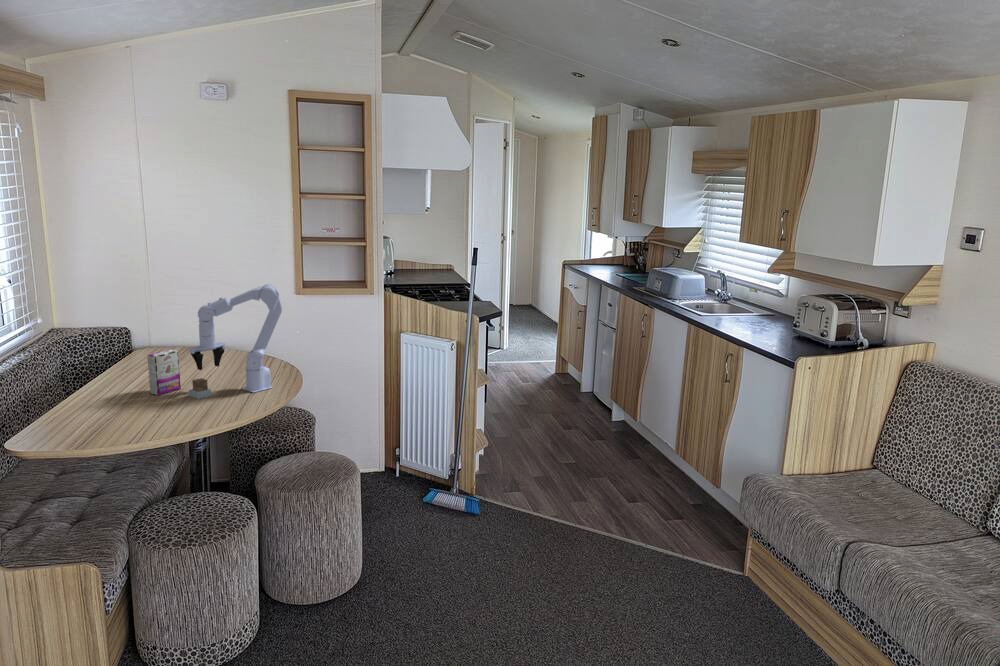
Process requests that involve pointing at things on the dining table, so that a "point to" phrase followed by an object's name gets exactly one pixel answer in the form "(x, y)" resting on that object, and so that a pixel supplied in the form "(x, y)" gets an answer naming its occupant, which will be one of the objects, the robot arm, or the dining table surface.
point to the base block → (199, 393)
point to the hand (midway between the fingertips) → (208, 367)
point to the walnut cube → (200, 384)
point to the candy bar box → (164, 372)
